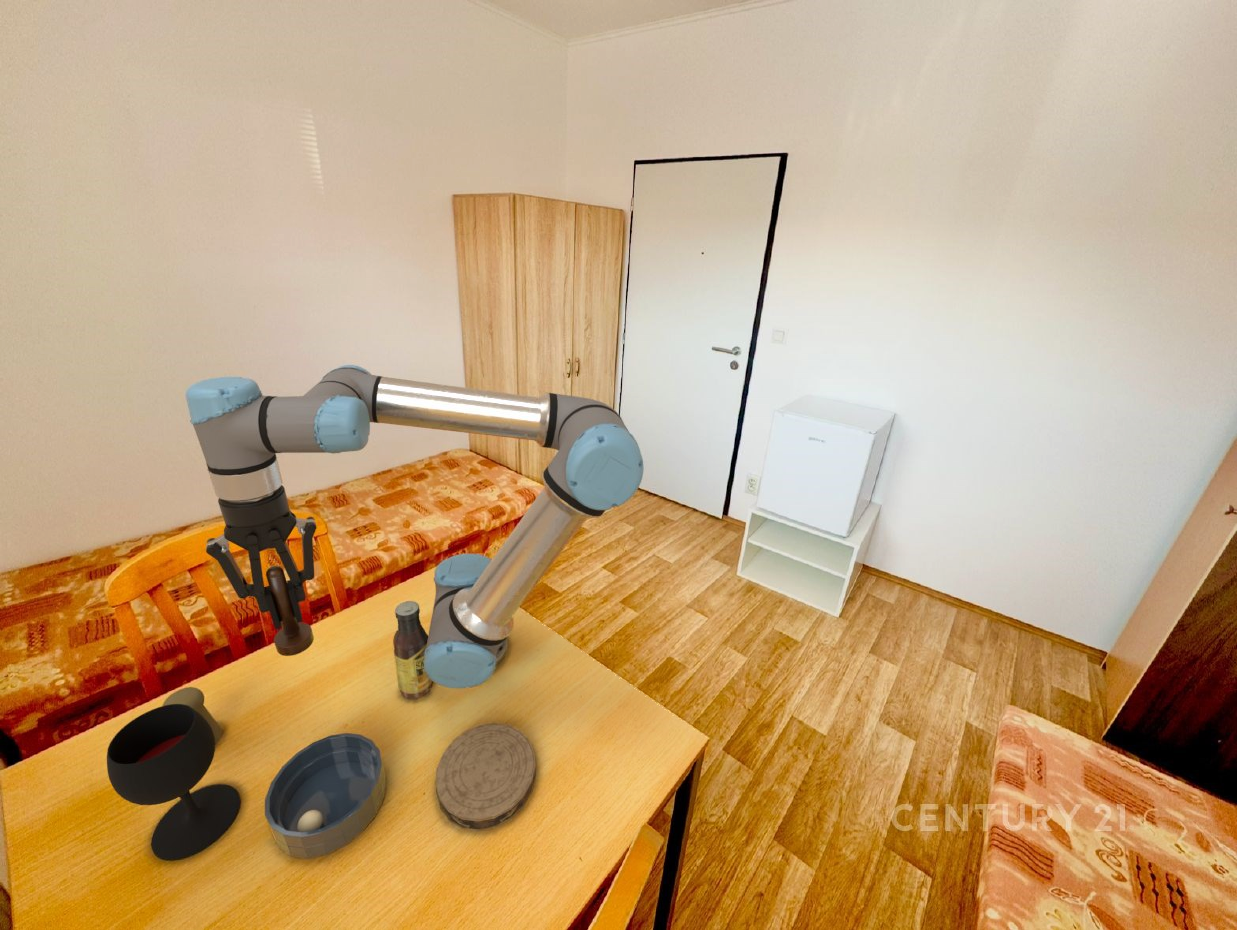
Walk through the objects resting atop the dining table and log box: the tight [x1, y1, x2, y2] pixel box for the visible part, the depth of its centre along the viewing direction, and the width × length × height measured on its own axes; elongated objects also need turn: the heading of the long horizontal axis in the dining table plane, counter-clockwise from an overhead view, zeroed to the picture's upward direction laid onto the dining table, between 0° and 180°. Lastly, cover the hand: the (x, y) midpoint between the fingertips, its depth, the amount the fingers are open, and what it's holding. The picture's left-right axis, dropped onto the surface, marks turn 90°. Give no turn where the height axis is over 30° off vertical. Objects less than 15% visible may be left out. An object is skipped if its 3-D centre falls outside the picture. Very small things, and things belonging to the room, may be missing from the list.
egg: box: [297, 810, 323, 832], centre depth 71 cm, size 3×3×3 cm
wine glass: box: [106, 704, 242, 862], centre depth 68 cm, size 10×10×20 cm
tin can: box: [434, 722, 536, 832], centre depth 81 cm, size 16×16×3 cm
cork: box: [162, 686, 223, 746], centre depth 81 cm, size 6×6×11 cm
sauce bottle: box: [392, 600, 433, 700], centre depth 92 cm, size 7×6×20 cm
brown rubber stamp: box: [265, 565, 315, 657], centre depth 76 cm, size 5×5×16 cm
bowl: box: [264, 732, 387, 859], centre depth 75 cm, size 15×15×6 cm
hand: (288, 620), depth 77 cm, fingers closed on brown rubber stamp, 2 cm apart
